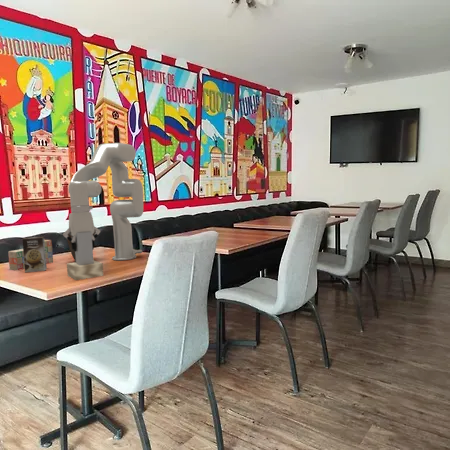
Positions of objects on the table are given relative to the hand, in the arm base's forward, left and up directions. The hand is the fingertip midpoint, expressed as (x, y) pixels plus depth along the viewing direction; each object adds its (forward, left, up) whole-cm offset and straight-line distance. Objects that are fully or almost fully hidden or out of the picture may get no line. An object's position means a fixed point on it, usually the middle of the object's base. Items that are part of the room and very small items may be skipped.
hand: (83, 249), depth 184 cm
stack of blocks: (+16, -45, -12) cm, 49 cm away
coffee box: (+16, -30, -12) cm, 36 cm away
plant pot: (-8, -38, -12) cm, 41 cm away
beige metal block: (0, 0, -12) cm, 12 cm away
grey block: (0, 0, -6) cm, 6 cm away
